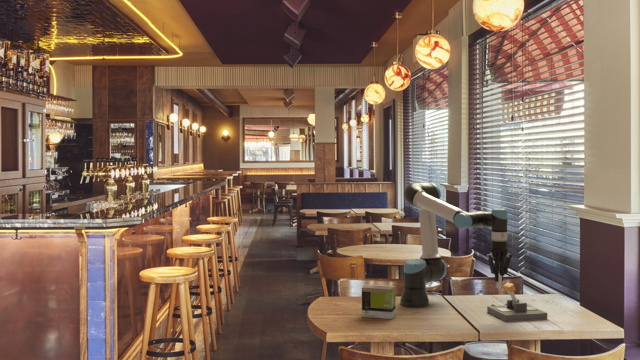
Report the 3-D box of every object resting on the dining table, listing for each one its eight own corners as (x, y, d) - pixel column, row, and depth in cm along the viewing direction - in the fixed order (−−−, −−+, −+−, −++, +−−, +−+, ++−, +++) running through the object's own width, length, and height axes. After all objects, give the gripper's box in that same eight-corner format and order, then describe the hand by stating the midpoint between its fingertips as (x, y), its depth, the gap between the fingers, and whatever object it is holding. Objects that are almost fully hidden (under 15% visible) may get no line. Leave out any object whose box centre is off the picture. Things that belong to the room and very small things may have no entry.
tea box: (395, 314, 291) (396, 285, 290) (391, 320, 281) (391, 289, 281) (366, 312, 295) (366, 283, 295) (361, 317, 286) (361, 287, 286)
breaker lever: (518, 310, 287) (508, 287, 285) (512, 308, 292) (503, 285, 290) (523, 308, 287) (513, 284, 286) (517, 305, 292) (508, 282, 291)
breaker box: (505, 321, 278) (505, 307, 278) (479, 308, 304) (479, 295, 304) (547, 319, 283) (547, 304, 283) (518, 306, 308) (518, 293, 308)
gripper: (490, 241, 281) (490, 290, 282) (515, 240, 284) (515, 289, 285) (483, 239, 289) (483, 287, 289) (507, 239, 291) (507, 286, 292)
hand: (498, 288), depth 287 cm, fingers closed
